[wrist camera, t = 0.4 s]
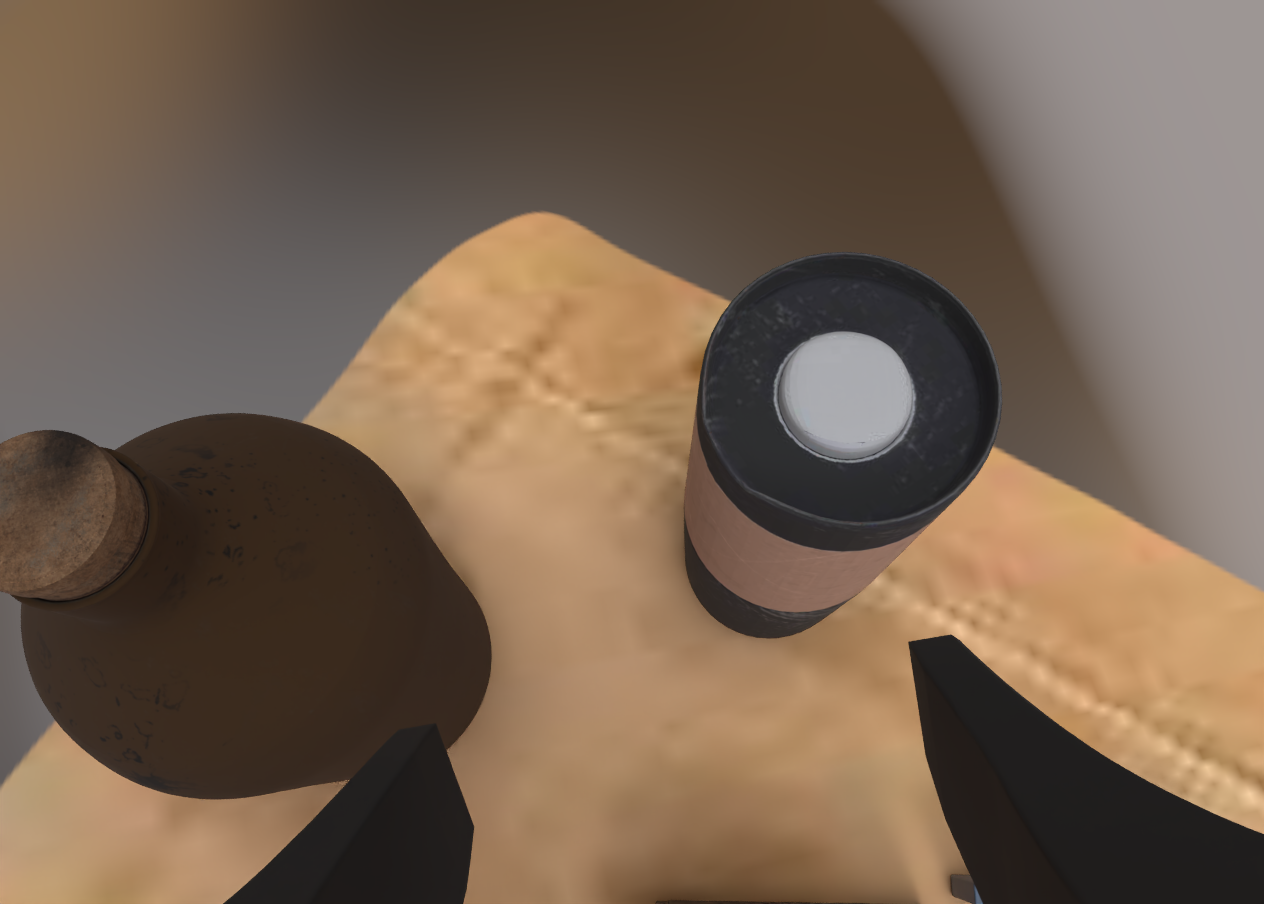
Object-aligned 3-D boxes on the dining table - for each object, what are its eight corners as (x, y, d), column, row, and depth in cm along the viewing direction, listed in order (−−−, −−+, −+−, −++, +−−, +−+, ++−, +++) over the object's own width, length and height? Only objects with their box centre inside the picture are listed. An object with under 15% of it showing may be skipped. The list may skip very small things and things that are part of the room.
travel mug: (868, 500, 44) (1031, 284, 25) (832, 667, 41) (981, 570, 22) (703, 456, 44) (738, 216, 26) (658, 618, 42) (660, 485, 23)
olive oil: (538, 739, 41) (376, 683, 17) (292, 830, 40) (-244, 904, 16) (467, 509, 44) (247, 191, 20) (237, 587, 43) (-275, 351, 19)
